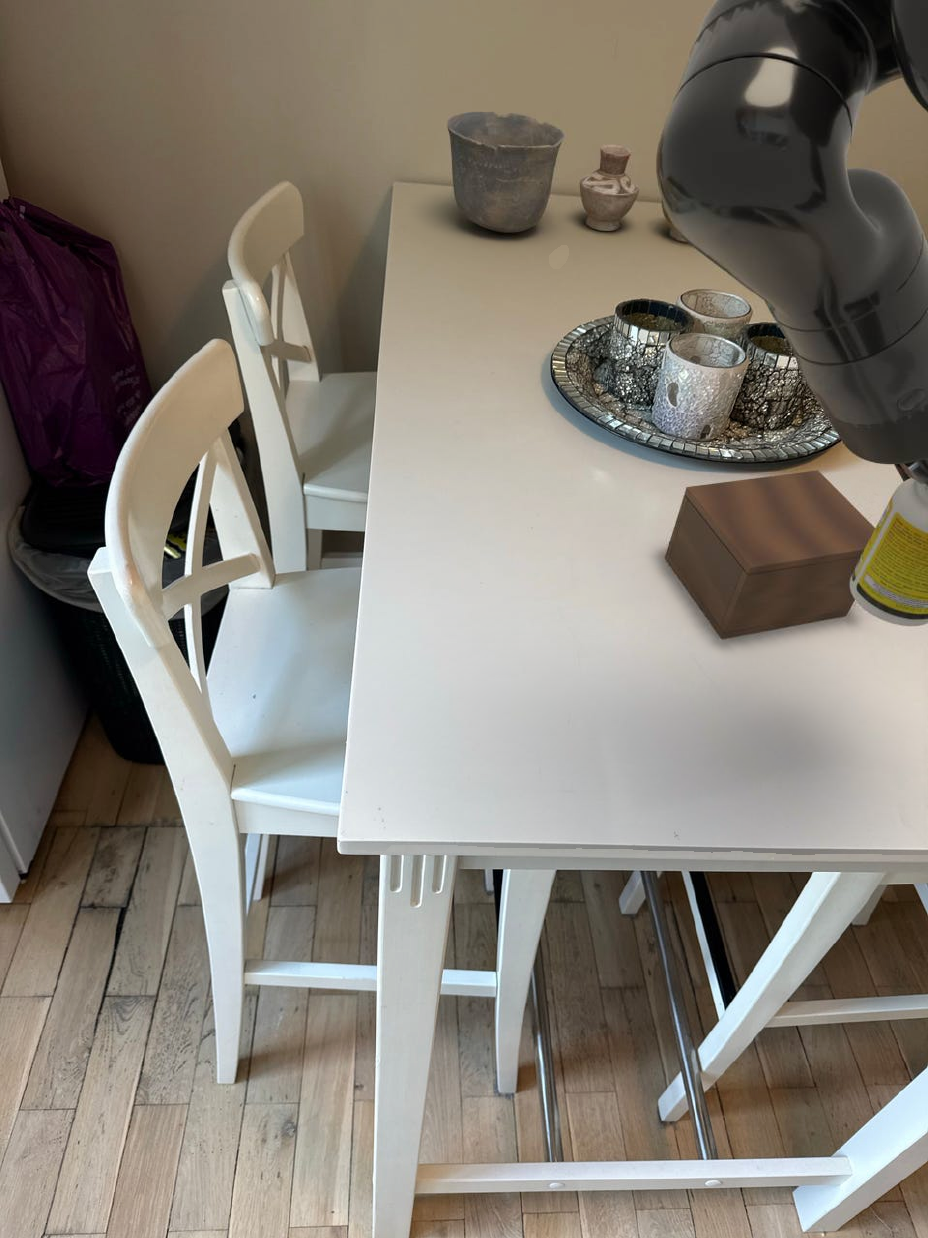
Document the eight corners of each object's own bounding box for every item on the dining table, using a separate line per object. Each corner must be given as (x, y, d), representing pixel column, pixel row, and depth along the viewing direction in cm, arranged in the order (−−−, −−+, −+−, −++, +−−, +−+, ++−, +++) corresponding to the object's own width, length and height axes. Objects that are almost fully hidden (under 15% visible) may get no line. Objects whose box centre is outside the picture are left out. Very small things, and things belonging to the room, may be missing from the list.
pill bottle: (951, 633, 60) (1038, 502, 52) (862, 627, 59) (936, 494, 52) (918, 573, 64) (994, 444, 56) (836, 566, 64) (901, 436, 56)
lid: (815, 476, 86) (818, 469, 85) (888, 551, 78) (892, 544, 78) (684, 493, 82) (686, 486, 82) (747, 574, 74) (750, 567, 74)
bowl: (474, 254, 137) (483, 150, 127) (423, 213, 148) (427, 114, 137) (568, 240, 144) (584, 140, 134) (513, 202, 155) (523, 106, 144)
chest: (781, 539, 91) (807, 477, 86) (846, 616, 83) (880, 553, 78) (664, 557, 88) (684, 494, 82) (721, 639, 80) (747, 575, 74)
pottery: (574, 210, 154) (586, 135, 146) (716, 228, 154) (736, 154, 145) (572, 234, 146) (584, 156, 138) (722, 253, 146) (744, 176, 137)
